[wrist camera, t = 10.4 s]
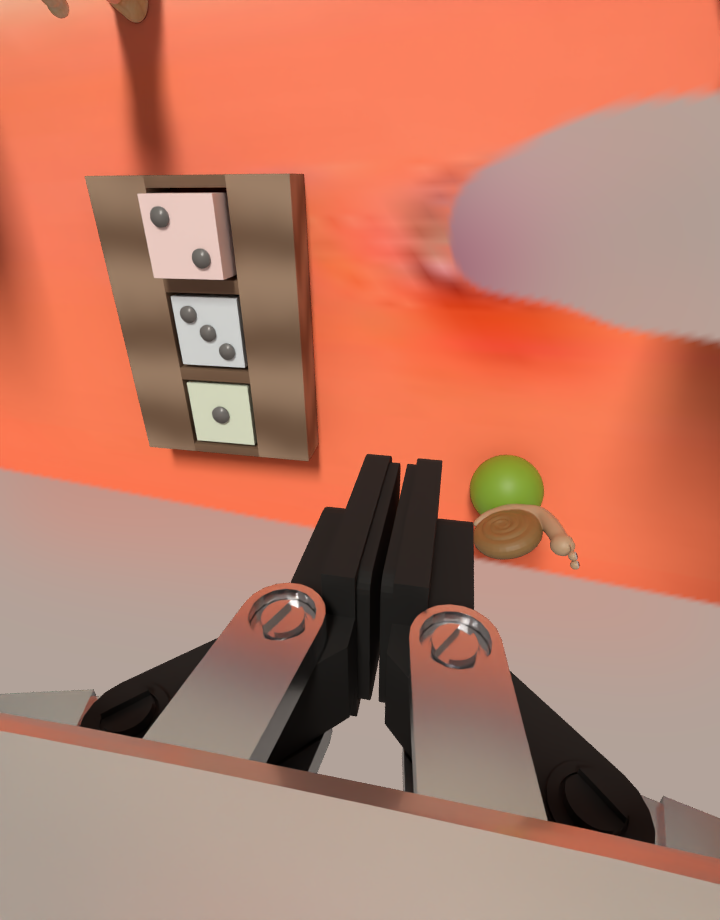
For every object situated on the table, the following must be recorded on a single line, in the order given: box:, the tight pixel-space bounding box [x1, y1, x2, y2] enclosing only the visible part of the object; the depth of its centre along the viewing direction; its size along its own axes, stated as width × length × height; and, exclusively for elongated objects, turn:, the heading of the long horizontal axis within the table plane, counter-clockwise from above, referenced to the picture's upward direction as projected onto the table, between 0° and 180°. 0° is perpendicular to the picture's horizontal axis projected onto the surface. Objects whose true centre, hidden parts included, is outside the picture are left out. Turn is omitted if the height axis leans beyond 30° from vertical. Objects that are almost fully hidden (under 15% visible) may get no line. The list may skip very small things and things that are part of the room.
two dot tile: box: [137, 192, 237, 280], centre depth 33 cm, size 5×5×3 cm
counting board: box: [85, 174, 318, 461], centre depth 38 cm, size 20×14×3 cm
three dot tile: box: [171, 293, 248, 368], centre depth 37 cm, size 5×5×3 cm
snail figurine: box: [470, 455, 579, 569], centre depth 35 cm, size 5×6×12 cm
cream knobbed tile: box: [187, 380, 257, 445], centre depth 40 cm, size 5×5×3 cm
